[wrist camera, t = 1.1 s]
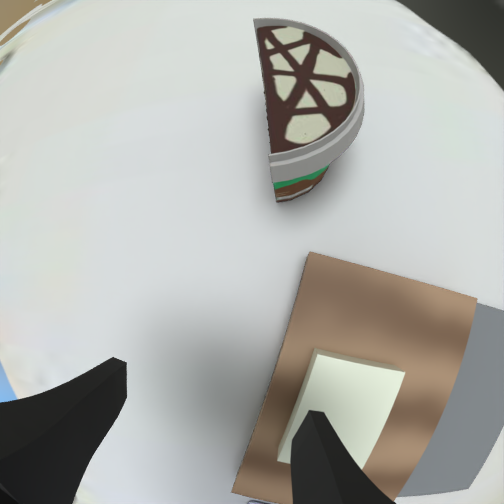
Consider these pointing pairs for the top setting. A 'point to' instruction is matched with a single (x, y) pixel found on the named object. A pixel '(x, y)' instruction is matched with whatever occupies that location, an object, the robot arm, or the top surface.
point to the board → (370, 348)
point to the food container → (306, 102)
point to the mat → (466, 413)
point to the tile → (346, 400)
